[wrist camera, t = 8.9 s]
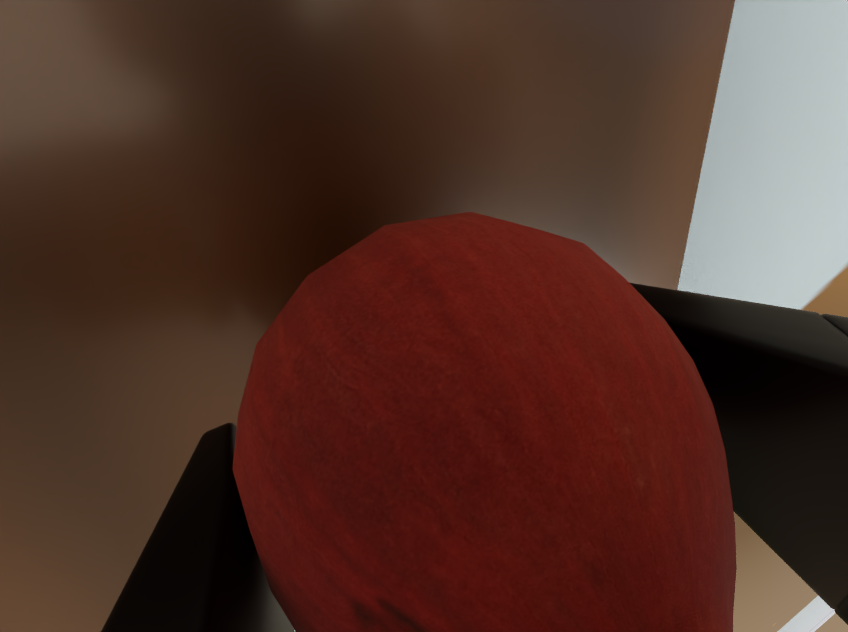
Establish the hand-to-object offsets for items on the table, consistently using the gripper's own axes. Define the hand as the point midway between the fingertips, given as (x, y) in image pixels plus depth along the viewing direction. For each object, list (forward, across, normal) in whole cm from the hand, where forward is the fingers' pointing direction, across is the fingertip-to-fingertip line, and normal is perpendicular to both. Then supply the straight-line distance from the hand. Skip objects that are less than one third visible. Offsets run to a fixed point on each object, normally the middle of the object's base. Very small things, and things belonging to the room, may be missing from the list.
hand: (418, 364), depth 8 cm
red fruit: (+2, 0, 0) cm, 2 cm away
